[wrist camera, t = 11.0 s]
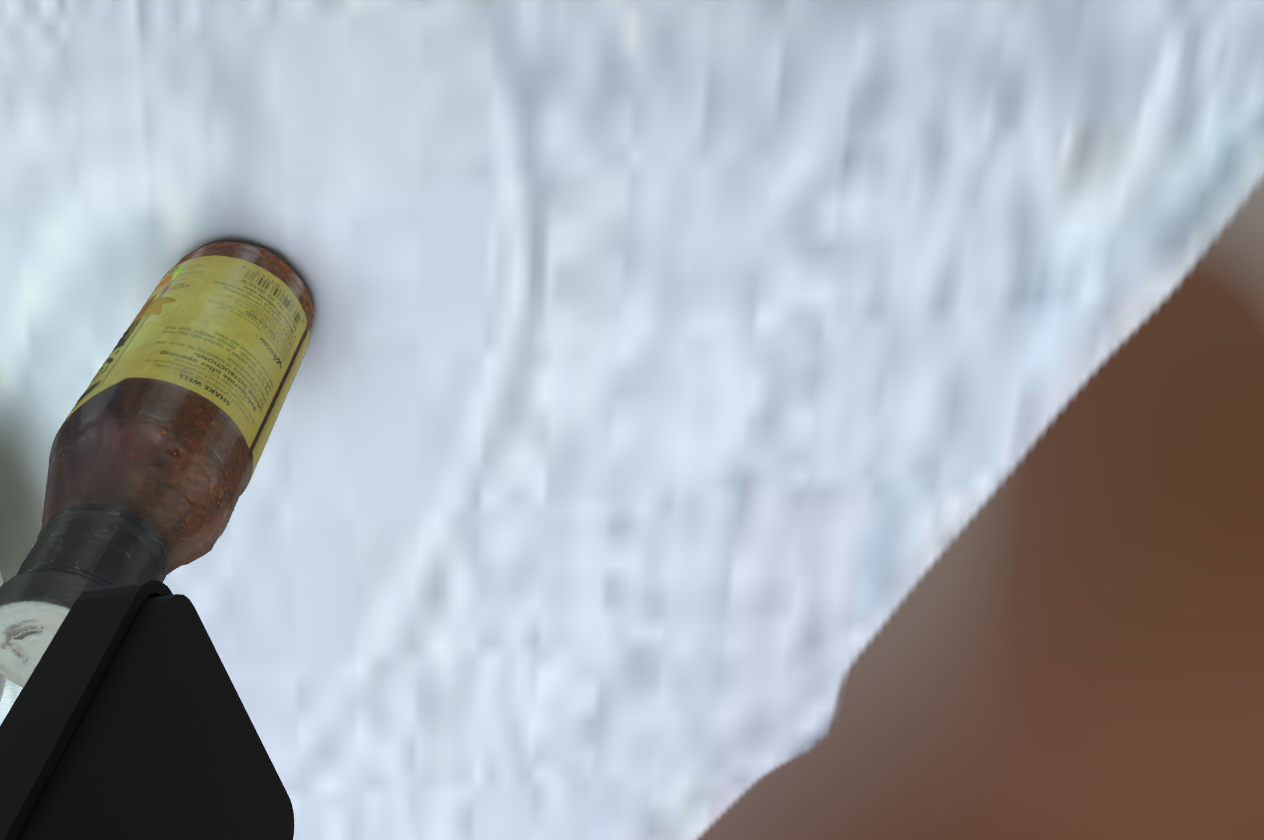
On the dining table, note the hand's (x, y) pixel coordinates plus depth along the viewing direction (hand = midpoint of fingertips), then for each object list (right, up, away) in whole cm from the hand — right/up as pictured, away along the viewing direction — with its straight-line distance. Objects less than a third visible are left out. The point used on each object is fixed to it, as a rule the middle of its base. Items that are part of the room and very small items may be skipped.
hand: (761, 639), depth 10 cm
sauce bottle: (-17, +7, +39) cm, 44 cm away
